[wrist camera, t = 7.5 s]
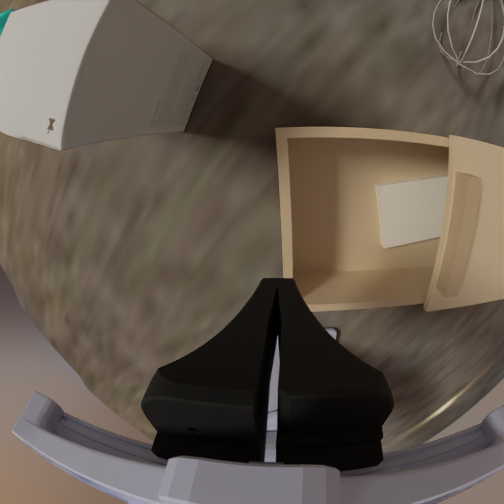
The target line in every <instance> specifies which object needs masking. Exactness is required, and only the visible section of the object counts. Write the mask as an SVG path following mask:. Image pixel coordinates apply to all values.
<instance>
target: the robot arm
mask: <svg viewBox="0 0 504 504" xmlns="http://www.w3.org/2000/svg"><path fill="white" fill-rule="evenodd" d="M336 335H337V332H336V330H335V329H334V328H328V329H325V328H324V327H323V326H322V325H321V324H320V322H319V321H318V320H317V319H316V317H315V316H314V315H313V313H312V312H311V310H310V309H309V307H308V306H307V304H306V302H305V301H304V299H303V297H302V296H301V294H300V292H299V290H298V288H297V285H296V282H295V280H294V279H293V278H263V279H262V280H261V282H260V284H259V285H258V287H257V289H256V290H255V292H254V293H253V295H252V296H251V298H250V299H249V301H248V302H247V303H246V305H245V306H244V307H243V308H242V310H241V311H240V312H239V313H238V314H237V315H236V317H235V318H234V319H233V320H232V321H231V322H230V323H229V324H228V325H227V326H226V327H225V328H224V329H223V330H222V331H220V332H219V333H218V334H217V335H216V336H214V337H213V338H212V339H211V340H209V341H208V342H207V343H205V344H204V345H202V346H201V347H199V348H198V349H196V350H195V351H193V352H191V353H189V354H188V355H186V356H184V357H182V358H180V359H178V360H176V361H174V362H172V363H170V364H167V365H165V366H163V367H161V368H158V370H157V372H156V373H155V375H154V377H153V378H152V380H151V382H150V384H149V386H148V388H147V390H146V393H145V395H144V397H143V400H142V402H141V408H142V410H143V412H144V414H145V416H146V417H147V418H148V420H149V421H150V423H151V424H152V425H153V426H154V428H155V429H156V430H157V434H156V437H155V440H154V443H153V445H151V444H148V443H144V442H141V441H137V440H134V439H130V438H128V437H124V436H122V435H118V434H116V433H113V432H110V431H107V430H105V429H102V428H99V427H97V426H94V425H92V424H89V423H87V422H85V421H82V420H80V419H78V418H75V417H73V416H71V415H69V414H67V413H65V412H64V411H63V410H62V408H61V407H60V406H59V405H58V404H57V403H56V402H55V401H53V400H52V399H50V398H48V397H46V396H44V395H43V394H41V393H39V392H35V393H34V394H33V396H32V397H31V399H30V401H29V402H28V404H27V405H26V407H25V408H24V410H23V412H22V413H21V415H20V417H19V418H18V420H17V422H16V423H15V425H14V427H13V428H12V432H13V433H14V434H15V435H16V436H17V437H18V438H20V439H21V440H22V441H23V442H24V443H25V444H27V445H28V446H29V447H30V448H32V449H33V450H34V451H35V452H37V453H38V454H39V455H41V456H42V457H43V458H45V459H46V460H48V461H49V462H51V463H52V464H54V465H56V466H57V467H58V468H60V469H62V470H63V471H65V472H67V473H69V474H70V475H72V476H74V477H75V478H77V479H79V480H81V481H83V482H84V483H86V484H88V485H90V486H92V487H94V488H96V489H98V490H100V491H102V492H104V493H107V494H109V495H111V496H113V497H115V498H118V499H120V500H123V501H125V502H127V503H128V504H436V503H438V502H441V501H443V500H446V499H448V498H450V497H452V496H455V495H457V494H459V493H461V492H463V491H465V490H467V489H469V488H471V487H473V486H475V485H477V484H478V483H480V482H482V481H484V480H486V479H488V478H489V477H491V476H493V475H494V474H496V473H497V472H499V471H500V470H502V469H503V468H504V405H503V406H501V407H499V408H497V409H495V410H494V411H492V412H491V413H490V414H489V415H488V416H486V418H485V419H484V420H483V421H482V423H480V424H478V425H475V426H473V427H471V428H468V429H466V430H463V431H460V432H458V433H455V434H453V435H450V436H447V437H444V438H441V439H438V440H435V441H431V442H428V443H425V444H421V445H417V446H414V447H410V448H406V449H402V450H397V451H393V452H388V453H383V452H382V446H381V440H382V438H383V431H382V425H383V424H384V422H385V421H386V419H387V418H388V416H389V415H390V413H391V412H392V409H393V407H394V402H393V397H392V393H391V390H390V388H389V386H388V383H387V381H386V379H385V377H384V375H383V373H382V372H380V371H378V370H377V369H375V368H373V367H371V366H370V365H368V364H366V363H365V362H363V361H361V360H360V359H358V358H357V357H356V356H354V355H353V354H351V353H350V352H349V351H348V350H347V349H345V348H344V347H343V346H342V345H341V344H339V343H338V342H337V341H336ZM332 336H333V337H332Z"/></svg>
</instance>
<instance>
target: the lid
mask: <svg viewBox="0 0 504 504" xmlns="http://www.w3.org/2000/svg"><path fill="white" fill-rule="evenodd" d="M501 299H504V148H503V147H500V146H496V145H493V144H489V143H485V142H481V141H477V140H473V139H468V138H464V137H459V136H454V135H449V164H448V180H447V192H446V201H445V209H444V217H443V223H442V230H441V236H440V241H439V246H438V251H437V256H436V261H435V265H434V269H433V274H432V278H431V281H430V285H429V289H428V293H427V296H426V299H425V303H424V306H423V308H424V309H425V311H426V312H429V311H436V310H444V309H450V308H457V307H463V306H469V305H475V304H480V303H486V302H491V301H496V300H501Z"/></svg>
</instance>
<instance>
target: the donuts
mask: <svg viewBox="0 0 504 504" xmlns="http://www.w3.org/2000/svg"><path fill="white" fill-rule="evenodd" d="M12 11H15V9H11V10H7V11H5V12H3V13H2V14H0V37H1V34H2V31H3V29H4V27H5V24H6V22H7V20H8V17H9V15H10V13H11V12H12Z"/></svg>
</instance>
